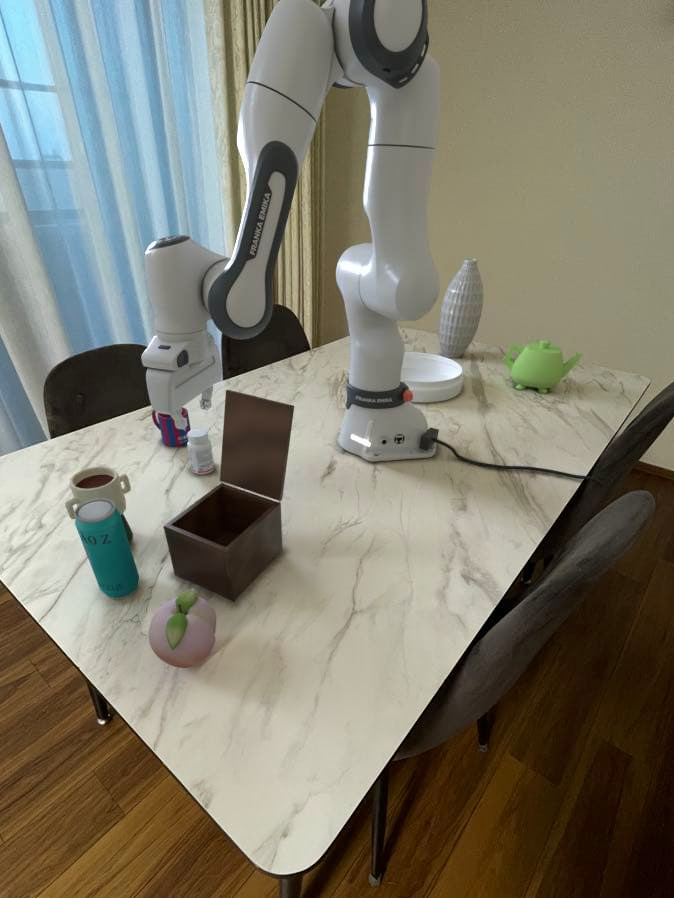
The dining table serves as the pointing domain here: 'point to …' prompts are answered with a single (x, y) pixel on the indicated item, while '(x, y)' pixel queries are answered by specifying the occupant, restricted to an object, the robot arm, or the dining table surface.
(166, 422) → the cup
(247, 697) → the dining table surface
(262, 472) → the lid
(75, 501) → the character mug
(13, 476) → the dining table surface
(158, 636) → the decorative fruit
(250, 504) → the box
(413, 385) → the white round dish
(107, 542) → the beverage can
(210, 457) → the pill bottle
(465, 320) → the vase
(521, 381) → the teapot
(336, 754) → the dining table surface
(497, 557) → the dining table surface
